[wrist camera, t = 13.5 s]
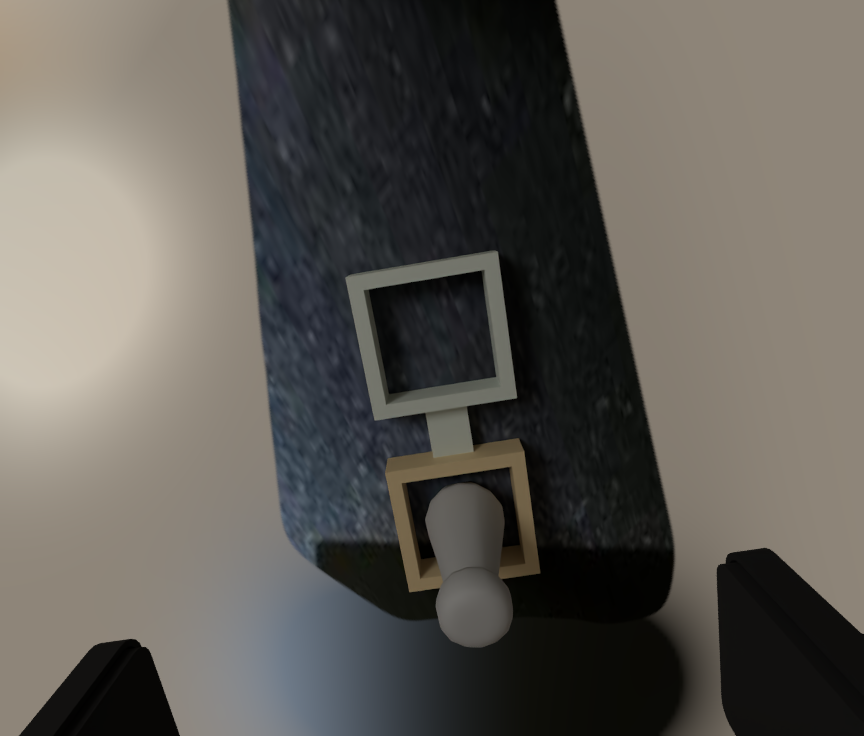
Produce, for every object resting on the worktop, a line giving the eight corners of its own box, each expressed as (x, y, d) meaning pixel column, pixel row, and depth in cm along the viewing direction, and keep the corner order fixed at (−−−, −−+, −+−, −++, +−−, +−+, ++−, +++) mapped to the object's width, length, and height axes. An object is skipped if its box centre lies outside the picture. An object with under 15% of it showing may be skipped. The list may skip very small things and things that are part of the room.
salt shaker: (460, 455, 40) (473, 556, 28) (515, 500, 41) (552, 617, 29) (410, 508, 41) (401, 628, 29) (465, 551, 42) (480, 685, 30)
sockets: (351, 274, 37) (345, 277, 35) (493, 250, 37) (497, 251, 34) (410, 571, 43) (409, 592, 40) (534, 554, 42) (540, 573, 40)
